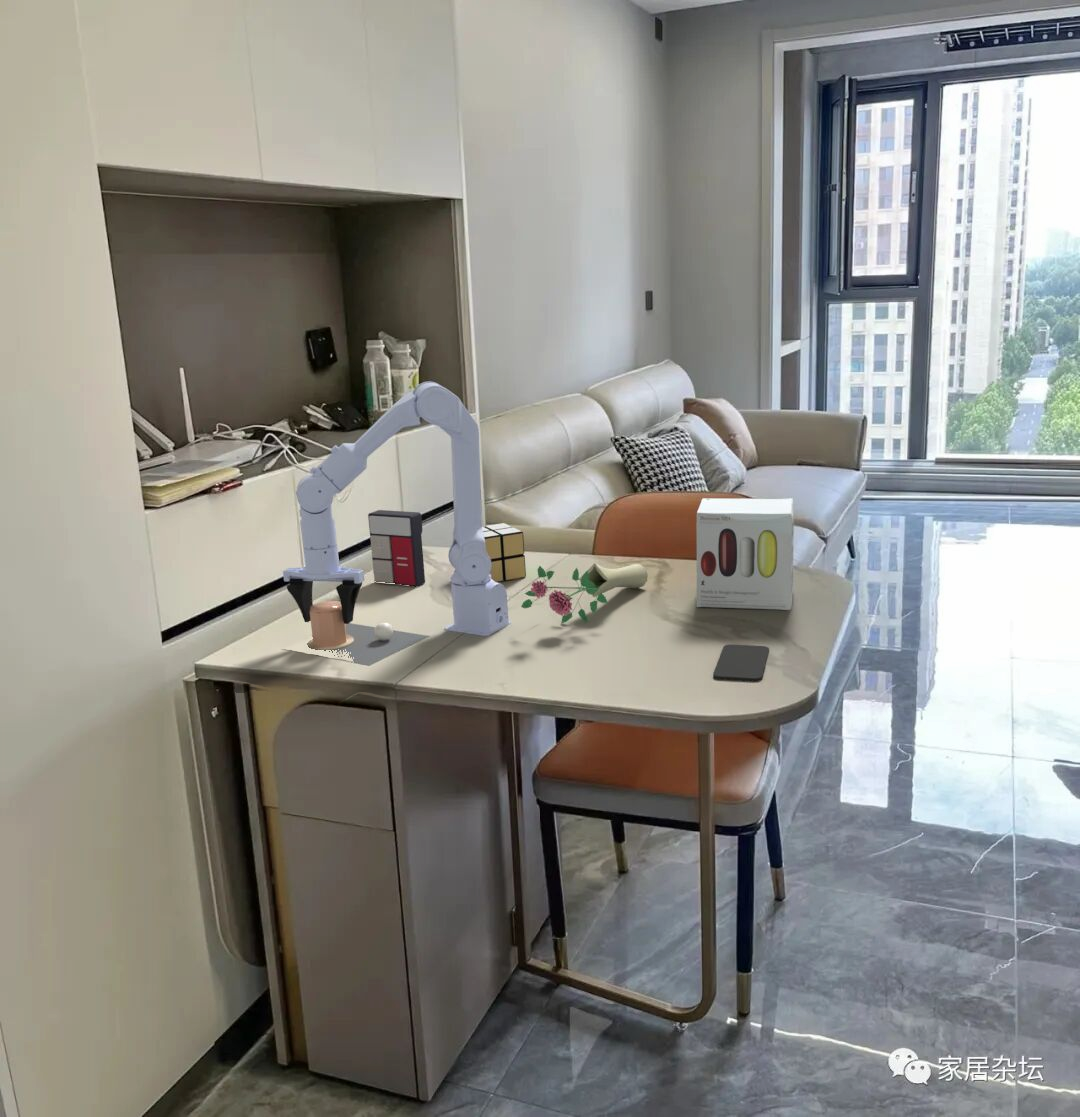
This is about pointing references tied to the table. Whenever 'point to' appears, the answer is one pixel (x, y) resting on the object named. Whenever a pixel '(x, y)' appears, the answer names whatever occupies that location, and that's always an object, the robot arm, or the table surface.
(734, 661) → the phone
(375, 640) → the placemat
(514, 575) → the puzzle cube
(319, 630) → the cup
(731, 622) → the table surface
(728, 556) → the supplement box
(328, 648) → the coaster
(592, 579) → the flower vase
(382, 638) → the ball
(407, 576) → the grey and red box
